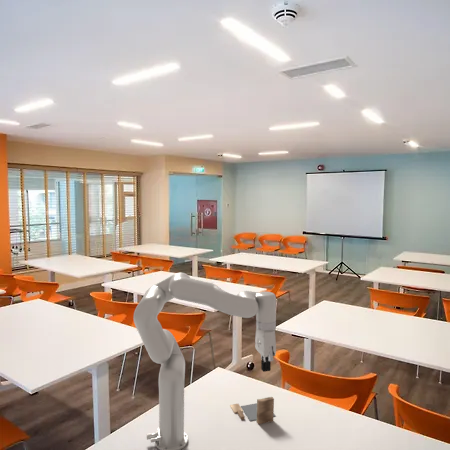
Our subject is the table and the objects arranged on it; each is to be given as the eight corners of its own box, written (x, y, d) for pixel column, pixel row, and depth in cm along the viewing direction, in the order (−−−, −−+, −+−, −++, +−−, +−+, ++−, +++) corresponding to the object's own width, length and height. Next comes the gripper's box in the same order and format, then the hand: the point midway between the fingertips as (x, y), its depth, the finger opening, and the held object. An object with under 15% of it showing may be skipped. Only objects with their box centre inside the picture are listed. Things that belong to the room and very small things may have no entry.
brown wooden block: (258, 424, 151) (258, 401, 150) (256, 421, 153) (257, 399, 152) (273, 421, 153) (273, 398, 152) (271, 418, 155) (272, 396, 154)
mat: (249, 421, 153) (250, 420, 153) (240, 406, 163) (240, 406, 163) (275, 416, 157) (275, 415, 157) (265, 402, 167) (265, 401, 167)
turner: (238, 420, 153) (238, 417, 153) (230, 406, 164) (230, 403, 164) (247, 418, 155) (247, 415, 155) (238, 404, 165) (238, 402, 165)
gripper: (249, 319, 144) (249, 363, 146) (264, 332, 130) (264, 381, 132) (267, 317, 147) (266, 360, 148) (283, 330, 132) (283, 378, 134)
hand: (265, 370), depth 140 cm, fingers closed
